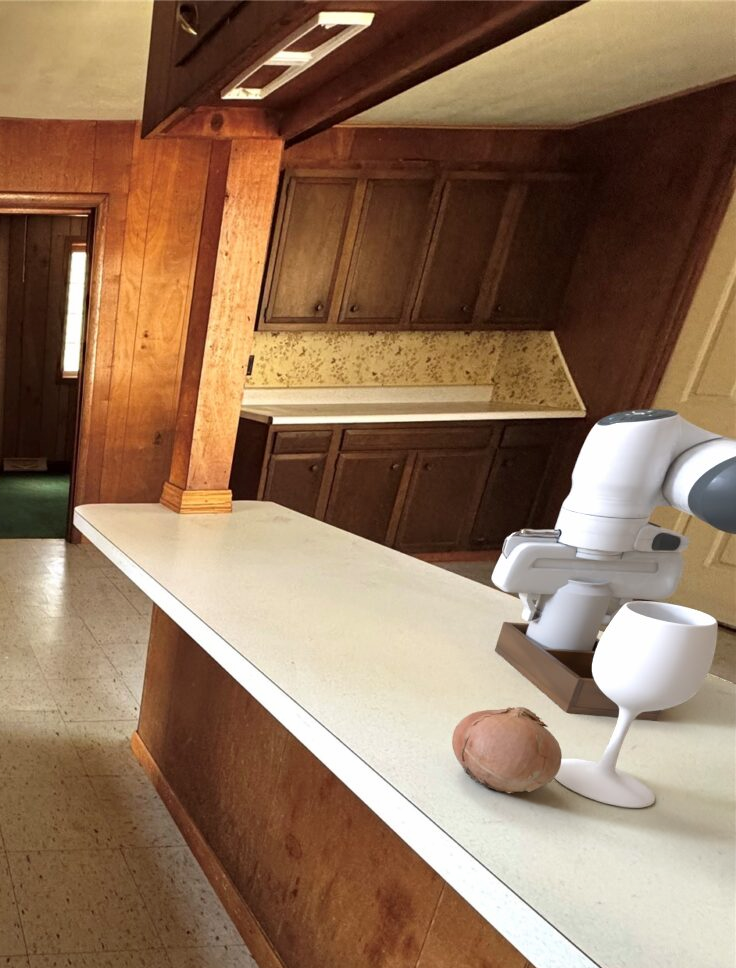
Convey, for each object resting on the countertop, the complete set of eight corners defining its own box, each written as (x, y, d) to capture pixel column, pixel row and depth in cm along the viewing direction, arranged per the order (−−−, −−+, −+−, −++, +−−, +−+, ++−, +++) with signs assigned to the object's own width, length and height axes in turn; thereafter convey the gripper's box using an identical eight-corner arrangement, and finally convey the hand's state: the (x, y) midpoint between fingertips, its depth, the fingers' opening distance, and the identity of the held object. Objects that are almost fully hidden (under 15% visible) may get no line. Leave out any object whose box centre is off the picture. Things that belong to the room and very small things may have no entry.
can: (509, 640, 102) (533, 567, 98) (560, 639, 102) (586, 566, 97) (549, 662, 95) (576, 584, 91) (604, 661, 95) (633, 583, 90)
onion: (491, 787, 79) (529, 711, 78) (561, 821, 70) (606, 736, 69) (417, 759, 79) (454, 683, 78) (477, 789, 70) (520, 703, 69)
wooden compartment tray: (569, 655, 103) (579, 626, 101) (657, 720, 85) (672, 687, 84) (494, 650, 105) (503, 621, 103) (566, 712, 88) (578, 679, 86)
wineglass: (617, 816, 70) (695, 636, 62) (529, 768, 77) (588, 603, 70) (675, 799, 72) (757, 623, 64) (583, 754, 79) (646, 592, 72)
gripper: (521, 534, 91) (493, 625, 96) (706, 540, 86) (666, 636, 91) (497, 522, 97) (472, 609, 102) (671, 527, 92) (635, 618, 97)
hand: (565, 622), depth 97 cm, fingers closed on can, 7 cm apart
